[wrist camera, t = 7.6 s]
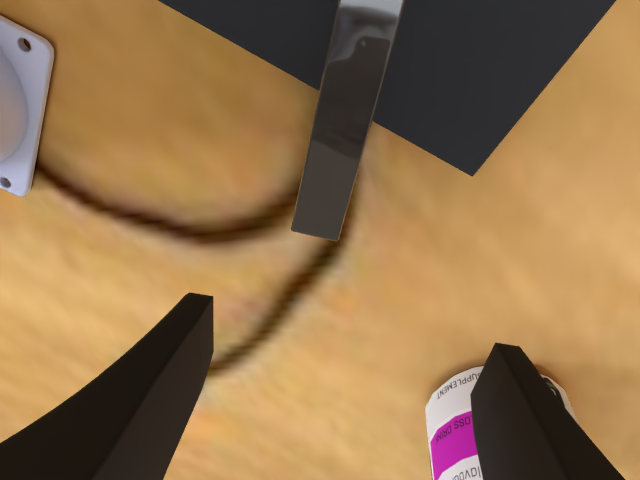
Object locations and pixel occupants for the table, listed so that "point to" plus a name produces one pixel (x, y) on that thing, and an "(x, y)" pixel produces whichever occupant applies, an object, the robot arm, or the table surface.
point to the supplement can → (461, 427)
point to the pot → (344, 112)
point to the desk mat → (426, 60)
